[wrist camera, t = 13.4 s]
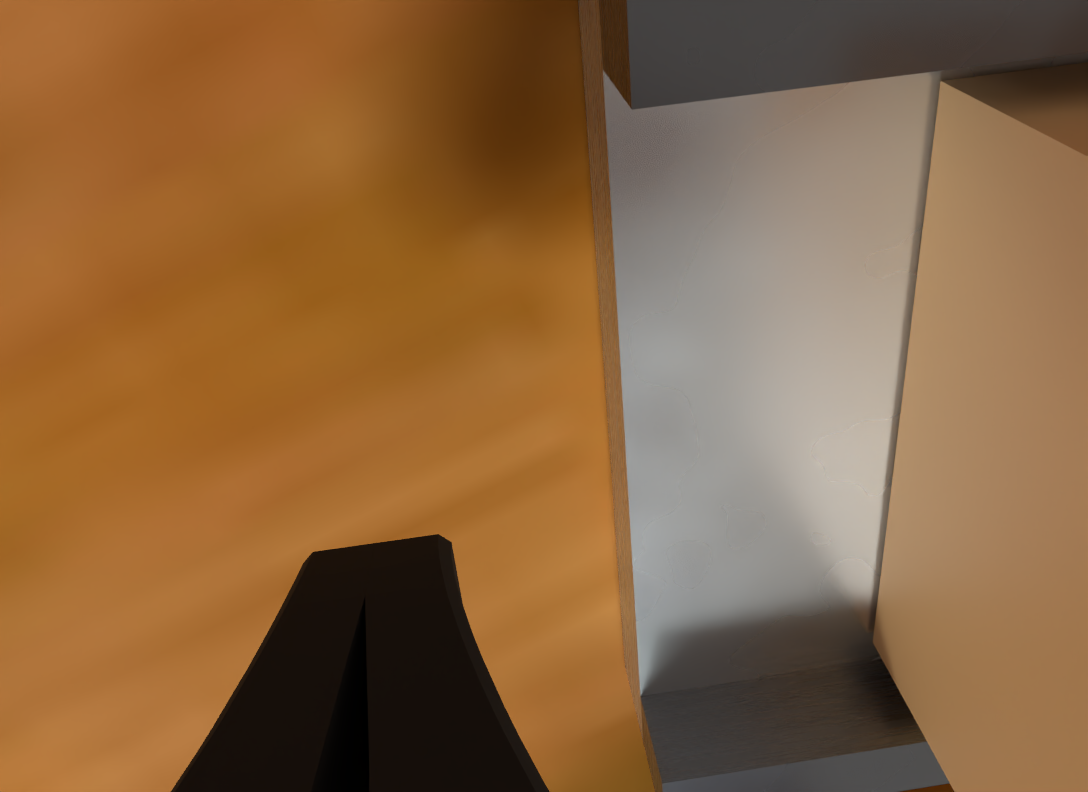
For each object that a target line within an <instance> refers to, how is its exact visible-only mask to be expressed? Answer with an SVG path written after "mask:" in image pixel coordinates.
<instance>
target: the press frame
mask: <svg viewBox="0 0 1088 792" xmlns="http://www.w3.org/2000/svg"><path fill="white" fill-rule="evenodd" d="M578 5H579V20H580V34H581V48H582V62H583V76H584V91H585V105H586V119H587V133H588V147H589V161H590V176H591V190H592V204H593V218H594V232H595V247H596V261H597V275H598V289H599V303H600V318H601V332H602V346H603V360H604V374H605V389H606V403H607V417H608V431H609V445H610V460H611V474H612V488H613V502H614V516H615V531H616V545H617V559H618V573H619V587H620V601H621V616H622V630H623V644H624V658H625V668H626V672H627V677H628V681H629V685H630V689H631V693H632V697H633V701H634V706H635V710H636V714H637V718H638V722H639V726H640V730H641V734H642V739H643V743H644V747H645V751H646V755H647V759H648V763H649V768H650V772H651V776H652V780H653V784H654V788H655V792H899V791H905V790H911V789H917V788H924V787H930V786H936V785H942V784H948V783H949V781H948V779H947V777H946V775H945V773H944V772H943V770H942V768H941V766H940V764H939V763H938V761H937V759H936V757H935V755H934V753H933V752H932V750H931V748H930V746H929V744H928V742H927V741H926V739H925V737H924V735H923V733H922V731H921V730H920V728H919V726H918V724H917V722H916V720H915V719H914V717H913V715H912V713H911V711H910V710H909V708H908V706H907V704H906V702H905V700H904V699H903V697H902V695H901V693H900V691H899V689H898V688H897V686H896V684H895V682H894V680H893V678H892V677H891V675H890V673H889V671H888V669H887V667H886V666H885V664H884V662H883V660H882V658H881V657H880V655H879V653H878V651H877V649H876V647H875V646H874V644H873V635H874V627H875V619H876V610H877V602H878V594H879V586H880V577H881V569H882V561H883V553H884V544H885V536H886V528H887V520H888V511H889V503H890V495H891V487H892V478H893V470H894V462H895V454H896V445H897V437H898V429H899V421H900V412H901V404H902V396H903V387H904V379H905V371H906V363H907V354H908V346H909V338H910V330H911V321H912V313H913V305H914V297H915V288H916V280H917V272H918V264H919V255H920V247H921V239H922V231H923V222H924V214H925V206H926V198H927V189H928V181H929V173H930V165H931V156H932V148H933V140H934V132H935V123H936V115H937V107H938V98H939V90H940V82H941V81H944V80H952V79H960V78H968V77H976V76H983V75H991V74H999V73H1007V72H1015V71H1023V70H1031V69H1039V68H1047V67H1055V66H1063V65H1070V64H1078V63H1086V62H1088V0H578Z"/></svg>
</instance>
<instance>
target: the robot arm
mask: <svg viewBox="0 0 1088 792" xmlns="http://www.w3.org/2000/svg"><path fill="white" fill-rule="evenodd" d="M171 792H549V790H548V788H547V787H546V785H545V783H544V781H543V780H542V778H541V776H540V774H539V772H538V770H537V769H536V767H535V765H534V763H533V761H532V759H531V757H530V756H529V754H528V752H527V750H526V748H525V746H524V744H523V743H522V741H521V739H520V737H519V735H518V733H517V731H516V729H515V727H514V725H513V723H512V721H511V719H510V717H509V715H508V713H507V711H506V709H505V707H504V705H503V703H502V700H501V698H500V696H499V694H498V692H497V689H496V687H495V685H494V683H493V681H492V678H491V676H490V674H489V672H488V669H487V667H486V665H485V663H484V661H483V658H482V656H481V654H480V651H479V649H478V646H477V644H476V641H475V639H474V636H473V633H472V631H471V628H470V625H469V622H468V619H467V616H466V613H465V610H464V607H463V604H462V598H461V593H460V587H459V582H458V576H457V571H456V565H455V560H454V554H453V549H452V543H451V542H450V541H448V540H447V539H445V538H444V537H442V536H440V535H439V534H437V535H430V536H423V537H416V538H409V539H402V540H394V541H387V542H380V543H373V544H366V545H359V546H352V547H345V548H338V549H331V550H324V551H317V552H313V553H312V554H311V555H310V556H309V557H308V558H307V560H306V561H305V562H304V563H303V565H302V567H301V569H300V571H299V573H298V575H297V577H296V579H295V581H294V583H293V585H292V587H291V589H290V591H289V593H288V595H287V597H286V599H285V601H284V603H283V605H282V607H281V609H280V611H279V612H278V614H277V616H276V618H275V620H274V622H273V624H272V626H271V627H270V629H269V631H268V633H267V635H266V637H265V638H264V640H263V642H262V644H261V646H260V647H259V649H258V651H257V653H256V655H255V656H254V658H253V660H252V662H251V664H250V665H249V667H248V669H247V671H246V672H245V674H244V676H243V677H242V679H241V681H240V682H239V684H238V686H237V687H236V689H235V691H234V692H233V694H232V696H231V697H230V699H229V701H228V703H227V704H226V706H225V708H224V709H223V711H222V713H221V714H220V716H219V718H218V719H217V721H216V723H215V724H214V726H213V728H212V729H211V731H210V733H209V734H208V736H207V737H206V739H205V741H204V742H203V744H202V745H201V747H200V749H199V750H198V752H197V753H196V755H195V756H194V758H193V759H192V761H191V762H190V764H189V765H188V767H187V768H186V770H185V771H184V773H183V774H182V776H181V777H180V779H179V780H178V782H177V783H176V785H175V786H174V788H173V789H172V791H171Z"/></svg>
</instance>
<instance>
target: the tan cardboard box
mask: <svg viewBox="0 0 1088 792" xmlns="http://www.w3.org/2000/svg"><path fill="white" fill-rule="evenodd" d="M873 644H874V646H875V647H876V649H877V651H878V653H879V655H880V657H881V658H882V660H883V662H884V664H885V666H886V667H887V669H888V671H889V673H890V675H891V677H892V678H893V680H894V682H895V684H896V686H897V688H898V689H899V691H900V693H901V695H902V697H903V699H904V700H905V702H906V704H907V706H908V708H909V710H910V711H911V713H912V715H913V717H914V719H915V720H916V722H917V724H918V726H919V728H920V730H921V731H922V733H923V735H924V737H925V739H926V741H927V742H928V744H929V746H930V748H931V750H932V752H933V753H934V755H935V757H936V759H937V761H938V763H939V764H940V766H941V768H942V770H943V772H944V773H945V775H946V777H947V779H948V781H949V783H950V784H951V786H952V788H953V790H954V792H1088V62H1086V63H1078V64H1070V65H1063V66H1055V67H1047V68H1039V69H1031V70H1023V71H1015V72H1007V73H999V74H991V75H983V76H976V77H968V78H960V79H952V80H944V81H941V82H940V90H939V98H938V107H937V115H936V123H935V132H934V140H933V148H932V156H931V165H930V173H929V181H928V189H927V198H926V206H925V214H924V222H923V231H922V239H921V247H920V255H919V264H918V272H917V280H916V288H915V297H914V305H913V313H912V321H911V330H910V338H909V346H908V354H907V363H906V371H905V379H904V387H903V396H902V404H901V412H900V421H899V429H898V437H897V445H896V454H895V462H894V470H893V478H892V487H891V495H890V503H889V511H888V520H887V528H886V536H885V544H884V553H883V561H882V569H881V577H880V586H879V594H878V602H877V610H876V619H875V627H874V635H873Z"/></svg>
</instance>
